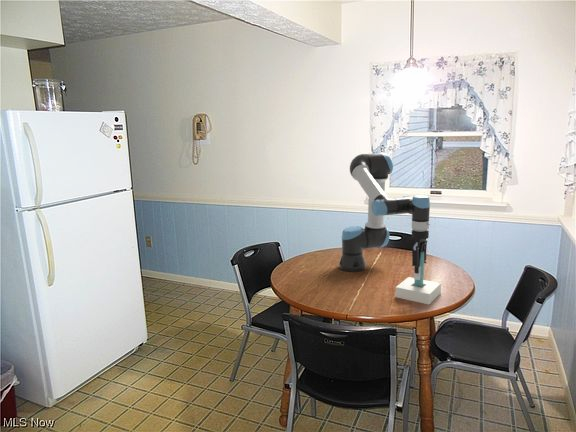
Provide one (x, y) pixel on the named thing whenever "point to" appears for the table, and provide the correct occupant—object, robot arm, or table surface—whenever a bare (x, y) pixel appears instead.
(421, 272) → the peg
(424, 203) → the robot arm
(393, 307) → the table surface
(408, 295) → the socket board
